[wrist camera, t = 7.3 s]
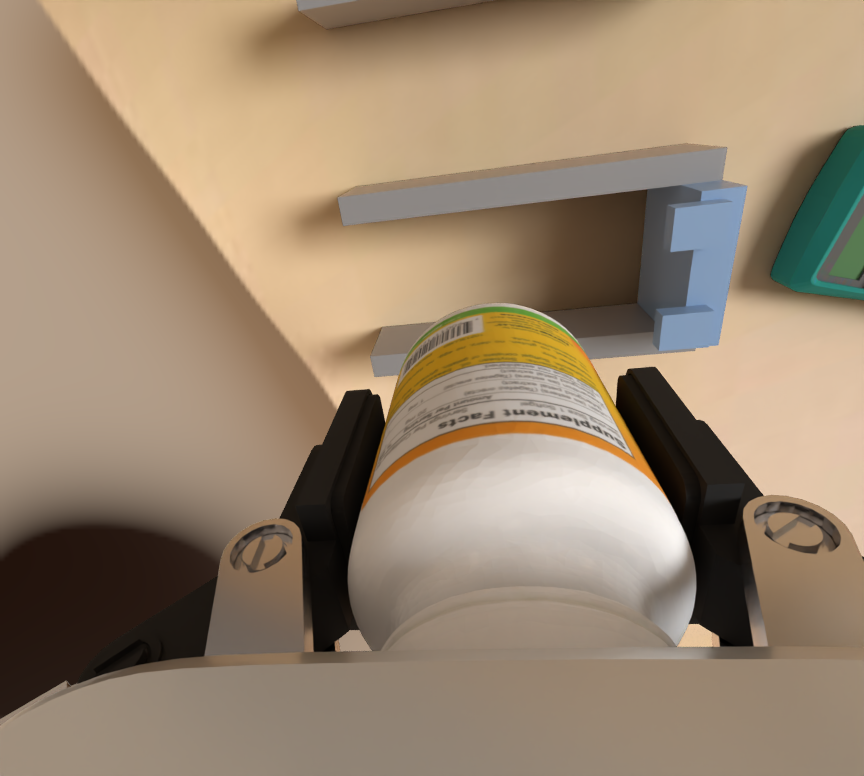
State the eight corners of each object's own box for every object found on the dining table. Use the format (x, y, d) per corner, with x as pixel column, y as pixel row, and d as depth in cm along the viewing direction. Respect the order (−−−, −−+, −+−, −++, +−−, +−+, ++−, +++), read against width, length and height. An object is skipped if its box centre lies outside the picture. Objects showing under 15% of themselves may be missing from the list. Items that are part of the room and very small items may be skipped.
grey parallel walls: (268, -282, 17) (159, -503, 11) (752, -406, 15) (942, -755, 9) (385, 345, 28) (364, 404, 22) (665, 320, 26) (722, 377, 21)
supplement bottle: (552, 481, 15) (670, 947, 6) (384, 445, 15) (270, 878, 6) (620, 323, 12) (972, 743, 4) (419, 276, 12) (306, 610, 4)
